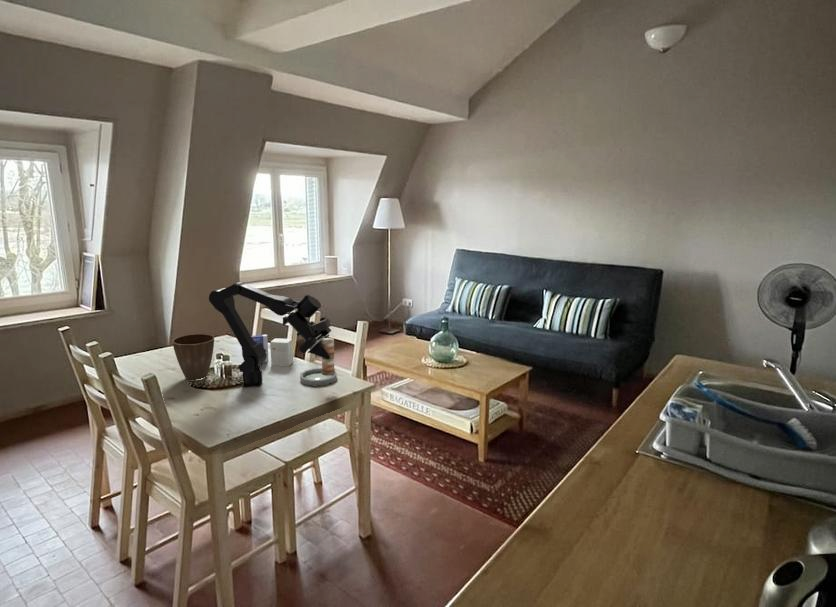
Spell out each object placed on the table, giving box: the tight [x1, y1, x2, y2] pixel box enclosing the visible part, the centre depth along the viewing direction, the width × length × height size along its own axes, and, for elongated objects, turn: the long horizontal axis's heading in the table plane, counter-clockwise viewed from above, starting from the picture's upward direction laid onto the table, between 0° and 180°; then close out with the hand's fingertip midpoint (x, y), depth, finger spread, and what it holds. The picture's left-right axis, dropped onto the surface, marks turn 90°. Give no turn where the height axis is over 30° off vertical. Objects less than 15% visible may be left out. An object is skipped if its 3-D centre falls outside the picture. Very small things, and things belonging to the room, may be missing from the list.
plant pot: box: [171, 333, 215, 381], centre depth 191 cm, size 15×15×16 cm
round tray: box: [299, 367, 338, 386], centre depth 194 cm, size 14×14×2 cm
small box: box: [269, 338, 294, 367], centre depth 210 cm, size 8×6×10 cm
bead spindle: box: [321, 337, 336, 376], centre depth 180 cm, size 5×5×13 cm
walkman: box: [251, 334, 269, 363], centre depth 211 cm, size 8×3×12 cm, turn 117°
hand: (331, 356), depth 180 cm, fingers closed on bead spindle, 4 cm apart
